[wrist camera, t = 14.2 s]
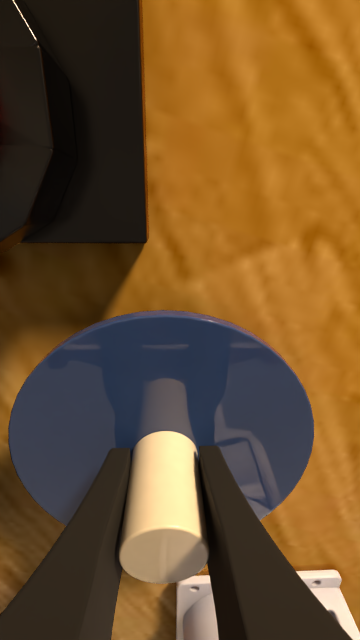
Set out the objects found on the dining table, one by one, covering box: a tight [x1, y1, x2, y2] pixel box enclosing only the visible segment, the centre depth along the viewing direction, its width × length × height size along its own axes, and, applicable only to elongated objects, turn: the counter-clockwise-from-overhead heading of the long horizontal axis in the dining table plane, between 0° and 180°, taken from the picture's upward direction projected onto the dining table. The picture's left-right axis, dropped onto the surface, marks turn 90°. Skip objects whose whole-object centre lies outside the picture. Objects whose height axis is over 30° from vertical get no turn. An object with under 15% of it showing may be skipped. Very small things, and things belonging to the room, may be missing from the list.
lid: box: [9, 310, 314, 584], centre depth 10 cm, size 11×11×4 cm
